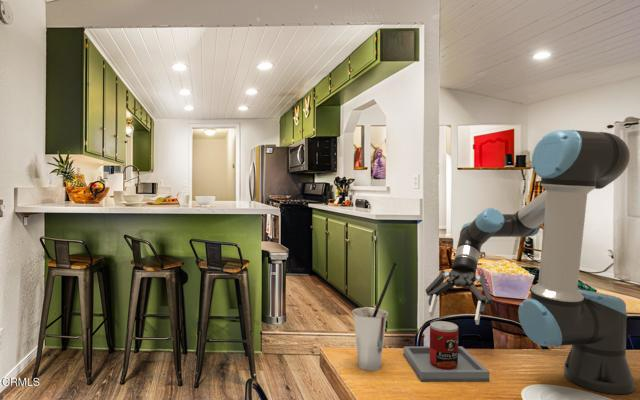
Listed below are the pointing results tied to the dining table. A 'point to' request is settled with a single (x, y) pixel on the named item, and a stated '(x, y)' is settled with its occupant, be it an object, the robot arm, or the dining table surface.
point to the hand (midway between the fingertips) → (453, 318)
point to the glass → (371, 332)
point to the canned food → (443, 344)
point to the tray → (464, 371)
